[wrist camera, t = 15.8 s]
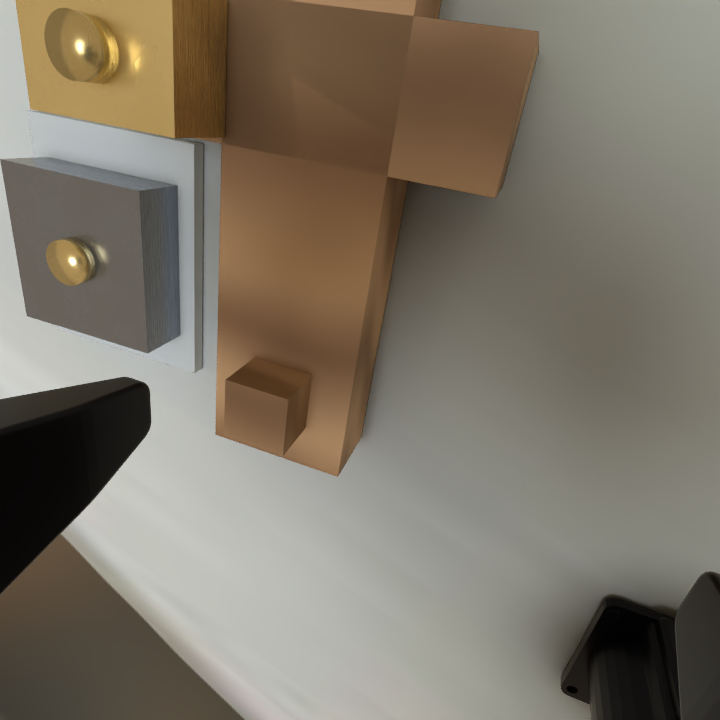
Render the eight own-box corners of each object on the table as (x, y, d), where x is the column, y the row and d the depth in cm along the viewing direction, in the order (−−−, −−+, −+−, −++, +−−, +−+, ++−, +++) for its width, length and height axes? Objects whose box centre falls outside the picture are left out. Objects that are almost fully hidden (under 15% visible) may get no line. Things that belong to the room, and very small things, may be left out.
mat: (202, 367, 24) (194, 373, 23) (67, 325, 26) (57, 329, 25) (203, 143, 19) (194, 144, 19) (39, 111, 21) (27, 110, 21)
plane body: (429, 459, 22) (402, 539, 18) (193, 382, 25) (118, 436, 20) (639, -328, 12) (698, -607, 7) (190, -315, 14) (36, -512, 10)
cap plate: (180, 335, 23) (137, 359, 20) (67, 301, 24) (14, 320, 22) (177, 185, 20) (126, 192, 17) (48, 156, 21) (-15, 159, 19)
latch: (224, 137, 16) (155, 138, 13) (95, 112, 17) (5, 107, 14) (227, 0, 14) (149, -33, 11) (84, -18, 15) (-20, -52, 12)
